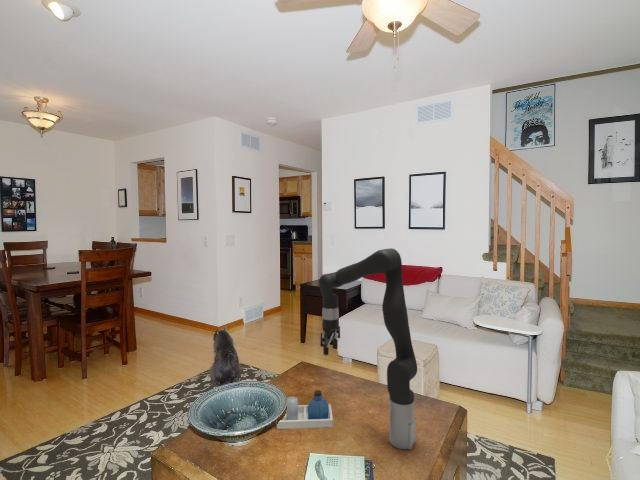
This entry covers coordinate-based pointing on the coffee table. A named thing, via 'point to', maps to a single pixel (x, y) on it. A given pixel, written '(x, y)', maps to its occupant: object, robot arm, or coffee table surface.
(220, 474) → the coffee table surface
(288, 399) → the grey rounded cylinder
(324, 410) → the perfume bottle
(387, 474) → the coffee table surface
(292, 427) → the tray
